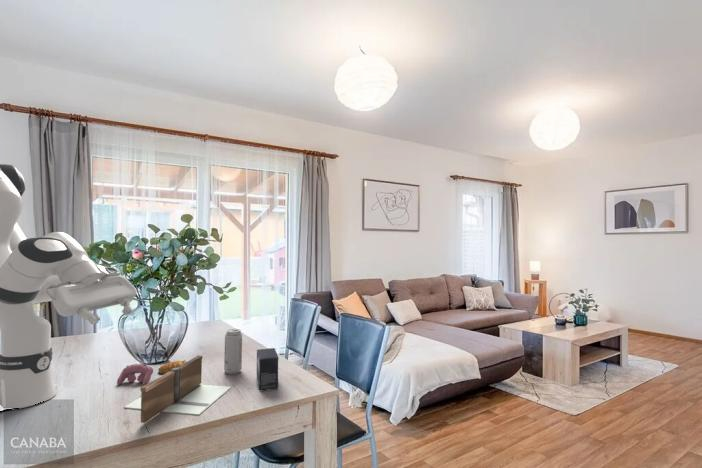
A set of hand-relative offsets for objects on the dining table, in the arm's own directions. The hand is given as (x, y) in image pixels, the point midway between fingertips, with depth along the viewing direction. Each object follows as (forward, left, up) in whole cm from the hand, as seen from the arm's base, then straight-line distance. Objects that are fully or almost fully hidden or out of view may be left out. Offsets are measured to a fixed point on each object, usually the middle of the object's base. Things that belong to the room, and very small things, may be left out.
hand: (113, 317), depth 99 cm
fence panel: (+9, +6, -27) cm, 29 cm away
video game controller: (-13, +25, -28) cm, 39 cm away
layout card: (+9, +17, -27) cm, 34 cm away
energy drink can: (+14, +40, -28) cm, 51 cm away
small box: (+30, +32, -28) cm, 52 cm away
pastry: (-6, +37, -28) cm, 47 cm away
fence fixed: (+9, +19, -27) cm, 35 cm away
